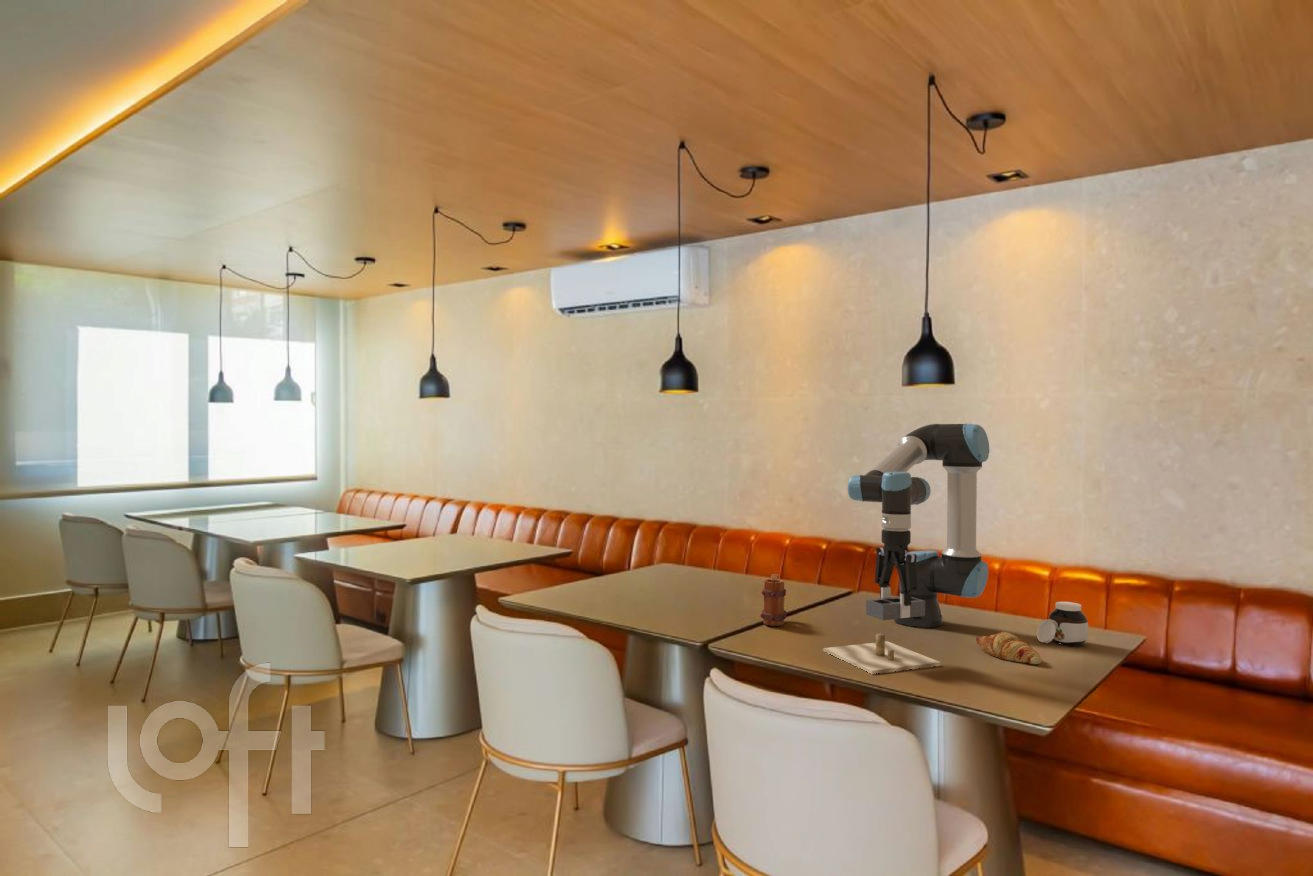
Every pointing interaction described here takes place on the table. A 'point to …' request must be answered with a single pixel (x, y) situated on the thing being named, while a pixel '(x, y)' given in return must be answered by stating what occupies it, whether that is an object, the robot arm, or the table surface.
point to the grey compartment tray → (893, 608)
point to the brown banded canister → (773, 601)
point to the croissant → (1008, 648)
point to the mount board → (881, 656)
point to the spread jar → (1064, 625)
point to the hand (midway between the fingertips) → (895, 614)
